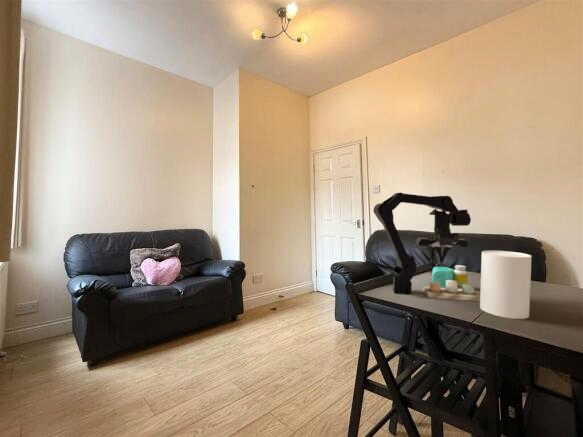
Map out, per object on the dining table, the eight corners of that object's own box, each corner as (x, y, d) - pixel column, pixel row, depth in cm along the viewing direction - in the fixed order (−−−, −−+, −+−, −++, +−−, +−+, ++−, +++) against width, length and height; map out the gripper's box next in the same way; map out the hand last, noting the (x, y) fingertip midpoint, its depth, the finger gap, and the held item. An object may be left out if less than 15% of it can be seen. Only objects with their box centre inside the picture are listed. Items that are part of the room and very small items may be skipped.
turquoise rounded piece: (431, 286, 125) (432, 269, 125) (433, 282, 132) (433, 266, 132) (452, 289, 121) (452, 271, 121) (452, 285, 128) (453, 267, 127)
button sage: (464, 296, 110) (464, 286, 110) (460, 293, 114) (460, 283, 114) (475, 297, 109) (475, 287, 109) (471, 294, 113) (471, 284, 113)
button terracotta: (430, 294, 113) (431, 284, 113) (428, 291, 117) (428, 281, 117) (441, 294, 112) (442, 285, 112) (439, 291, 116) (439, 282, 116)
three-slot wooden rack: (428, 297, 110) (428, 293, 110) (423, 290, 120) (423, 286, 120) (482, 301, 106) (483, 297, 106) (472, 293, 115) (473, 289, 115)
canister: (503, 303, 104) (505, 250, 103) (540, 317, 90) (542, 256, 89) (470, 305, 102) (472, 251, 101) (503, 320, 88) (506, 257, 88)
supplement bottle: (469, 289, 120) (469, 267, 120) (455, 289, 122) (456, 266, 121) (463, 286, 126) (464, 264, 125) (450, 285, 127) (451, 264, 126)
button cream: (447, 292, 111) (447, 282, 111) (444, 289, 115) (444, 279, 115) (458, 292, 110) (458, 282, 110) (455, 289, 114) (455, 280, 114)
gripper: (421, 226, 111) (421, 265, 111) (474, 227, 106) (473, 268, 107) (416, 225, 122) (415, 260, 122) (464, 225, 117) (463, 262, 118)
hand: (441, 262), depth 117 cm, fingers closed
